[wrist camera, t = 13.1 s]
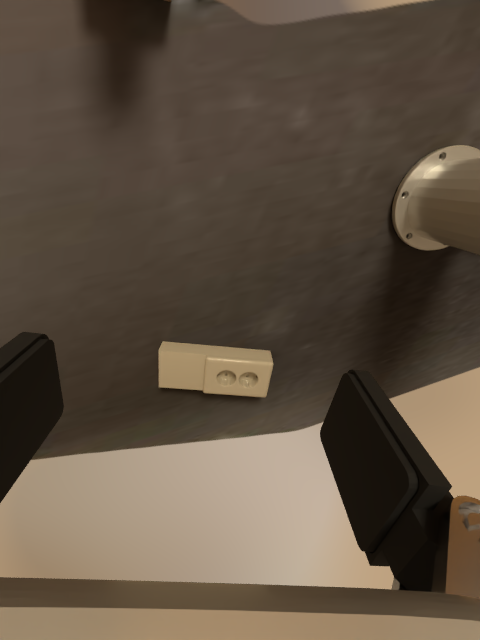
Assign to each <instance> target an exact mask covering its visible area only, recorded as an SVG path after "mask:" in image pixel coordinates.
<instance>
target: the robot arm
mask: <svg viewBox="0 0 480 640" xmlns="http://www.w3.org/2000/svg"><path fill="white" fill-rule="evenodd" d="M402 193H403V195H402ZM392 221H393V226H394V229H395V231H396V233H397V235H398V236H399V238H400V239H401V240H402V241H403V242H404V243H406V244H408V245H409V246H411V247H414V248H417V249H420V250H426V251H428V250H438V249H443V248H446V247H448V246H452V247H455V248H458V249H462V250H465V251H468V252H471V253H475V254H478V255H480V150H478V149H476V148H474V147H471V146H464V145H457V146H449V147H445V148H441V149H438V150H436V151H434V152H432V153H430V154H428V155H427V156H425V157H424V158H422V159H421V160H420V161H418V162H417V163H416V164H415V165H414V166H413V167H412V168H411V169H410V171H409V172H408V173H407V174H406V175H405V177H404V178H403V180H402V182H401V183H400V185H399V187H398V189H397V192H396V194H395V197H394V201H393V205H392ZM406 235H407V236H406ZM63 408H64V405H63V398H62V392H61V386H60V379H59V373H58V366H57V360H56V353H55V347H54V342H53V341H52V340H49V338H48V337H47V335H45V334H38V333H30V332H22V333H20V334H19V335H17V336H16V337H15V338H13V339H12V340H11V341H9V342H8V343H7V344H5V345H4V346H3V347H1V348H0V503H1V501H2V500H3V499H4V497H5V496H6V494H7V493H8V491H9V490H10V489H11V487H12V486H13V484H14V483H15V481H16V480H17V478H18V477H19V476H20V474H21V473H22V471H23V470H24V469H25V467H26V466H27V464H28V463H29V461H30V460H31V459H32V457H33V456H34V454H35V453H36V451H37V450H38V449H39V447H40V446H41V444H42V443H43V441H44V440H45V439H46V437H47V436H48V434H49V433H50V431H51V430H52V429H53V427H54V426H55V424H56V423H57V421H58V420H59V419H60V417H61V415H62V412H63ZM320 437H321V441H322V444H323V447H324V450H325V453H326V456H327V458H328V461H329V464H330V467H331V470H332V472H333V475H334V478H335V481H336V484H337V487H338V490H339V492H340V495H341V498H342V501H343V504H344V507H345V509H346V512H347V515H348V518H349V521H350V524H351V527H352V530H353V532H354V535H355V538H356V541H357V544H358V545H359V547H360V549H361V550H362V551H365V553H366V556H367V559H368V561H369V564H370V566H390V568H391V571H392V573H393V575H394V581H393V585H392V590H388V589H370V588H345V587H317V586H287V585H259V584H225V583H194V582H159V581H125V580H122V581H121V580H86V579H46V578H44V579H43V578H3V577H0V640H480V500H478V499H475V498H472V497H469V496H457V497H456V498H453V496H452V495H451V494H450V492H449V490H450V489H451V487H452V486H451V484H450V483H449V482H448V480H447V479H446V477H445V476H444V475H443V473H442V472H441V470H440V469H439V468H438V466H437V465H436V464H435V462H434V461H433V460H432V458H431V457H430V456H429V454H428V452H427V451H426V450H425V448H424V447H423V446H422V444H421V443H420V441H419V440H418V439H417V437H416V436H415V434H414V433H413V432H412V430H411V429H410V428H409V426H408V425H407V423H406V422H405V421H404V419H403V418H402V417H401V415H400V414H399V412H398V411H397V410H396V408H395V407H394V405H393V404H392V403H391V401H390V400H389V399H388V397H387V396H386V394H385V393H384V392H383V390H382V389H381V387H380V386H379V385H378V383H377V382H376V381H375V379H374V378H373V376H372V375H371V374H370V373H369V372H367V371H360V370H349V371H348V373H345V374H343V376H342V378H341V380H340V383H339V385H338V388H337V390H336V393H335V395H334V398H333V400H332V403H331V405H330V408H329V410H328V413H327V415H326V418H325V420H324V423H323V425H322V427H321V431H320Z"/></svg>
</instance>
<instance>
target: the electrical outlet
mask: <svg viewBox="0 0 480 640" xmlns="http://www.w3.org/2000/svg"><path fill="white" fill-rule="evenodd" d="M272 368H273V359H272V355H271V352H270V351H267V350H255V349H244V348H232V347H221V346H209V345H197V344H186V343H174V342H163V341H162V344H161V346H160V349H159V387H164V388H177V389H191V390H203V392H204V393H210V394H224V395H238V396H252V397H266V396H267V391H268V387H269V382H270V377H271V373H272Z"/></svg>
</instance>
